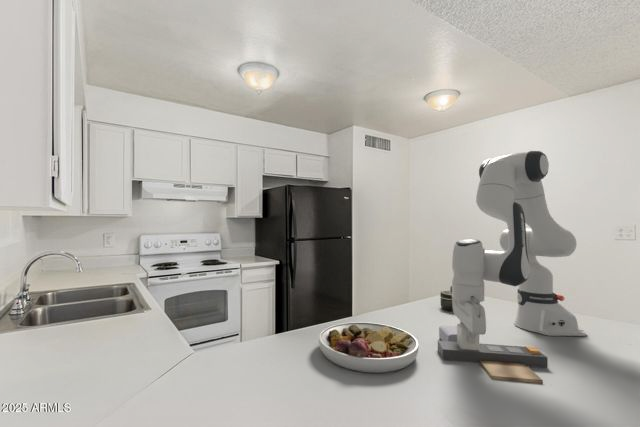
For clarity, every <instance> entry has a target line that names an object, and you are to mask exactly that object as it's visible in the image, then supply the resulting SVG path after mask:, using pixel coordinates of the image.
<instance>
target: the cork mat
mask: <svg viewBox="0 0 640 427" xmlns="http://www.w3.org/2000/svg"><path fill="white" fill-rule="evenodd" d="M479 364H480V366H481V367H482V369H483V370H484V371H485V372H486V374H487V375H488V376H489V377H490V378H491V380H501V381H511V382H525V383H536V384H543V381H544V379H542V378H541V377H540V376H539V375H538V374H537V373H536V372H534V371H533V370H532V369H531V367H528V366H527V365H525V364H517V363H504V362H492V361H480V363H479Z"/></svg>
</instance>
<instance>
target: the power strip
mask: <svg viewBox="0 0 640 427" xmlns="http://www.w3.org/2000/svg"><path fill="white" fill-rule="evenodd" d="M437 352H438V353H439V355H440V357H441V359H442V360H443V361H455V362H456V361H457V362H467V363H468V362H469V363H479V364H480V361H492V362H504V363H517V364H525V365H527V366H528V367H529V368H540V369H541V368H542V369H543V368H544V369H548V356H547V355H546V354H544V353H542V352H541V350H539V349H537V348H536V346H519V345H518V346H517V345H505V344H490V343H480V342H479V350H467V349H461V348H460V347H459V345H458V344H457V342H452V341H442V340H437Z"/></svg>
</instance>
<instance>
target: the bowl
mask: <svg viewBox="0 0 640 427" xmlns="http://www.w3.org/2000/svg"><path fill="white" fill-rule="evenodd" d="M318 345H319V348H320V351H321V352H322V353H323V355H324V356H325V357H326V358H327V359H328V361H331V362H332V363H334V364H336V365H337V366H339V367H342V368H345V369H348V370H352V371H356V372H361V373H375V374H377V373H380V374H381V373H382V374H383V373H390V372H394V371H398V370H401V369H404V368H406V367H407V366H409V365H410V364H412V362H414V361H415V359H416V357H418V353H419V346H420V345H419V341H418V339H417V338H416V337H415V336H414V335H413V334H411V333H410V332H408V331H406V330H405V329H404V330H403V329H401V328H398V327H396V326H392V325H388V324H382V323H378V322H377V323H376V322H369V321H368V322H365V321H354V322H343V323H342V322H341V323H337V324H334V325H331V326H329V327H325V328H324V329H323V330H322V331H321V332H320V333H319V334H318Z"/></svg>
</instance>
